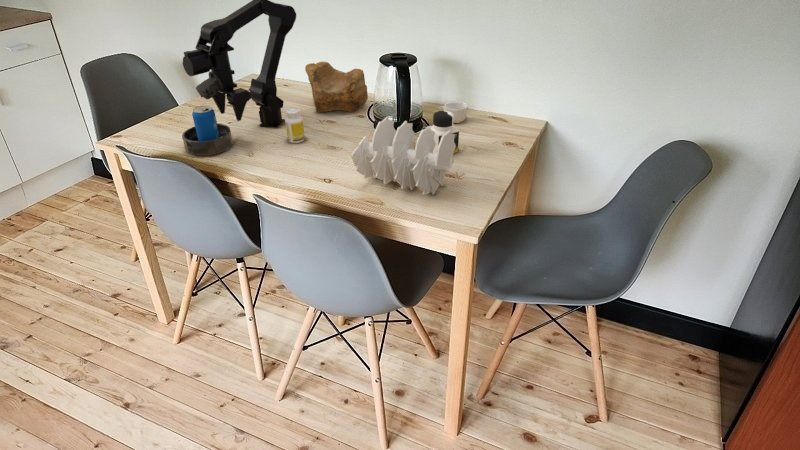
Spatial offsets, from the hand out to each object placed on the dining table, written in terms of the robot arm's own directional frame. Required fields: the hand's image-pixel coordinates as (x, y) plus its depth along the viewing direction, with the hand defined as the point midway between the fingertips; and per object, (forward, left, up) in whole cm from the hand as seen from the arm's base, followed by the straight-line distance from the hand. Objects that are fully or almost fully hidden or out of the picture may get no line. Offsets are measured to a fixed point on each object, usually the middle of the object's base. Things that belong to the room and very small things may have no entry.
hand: (230, 116), depth 169 cm
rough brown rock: (-23, -30, -7) cm, 39 cm away
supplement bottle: (-20, -2, -7) cm, 22 cm away
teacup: (-67, -27, -7) cm, 73 cm away
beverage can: (+4, +8, -7) cm, 11 cm away
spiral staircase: (-61, +20, -7) cm, 64 cm away
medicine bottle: (-67, -3, -7) cm, 68 cm away
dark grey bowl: (+5, +8, -7) cm, 12 cm away
